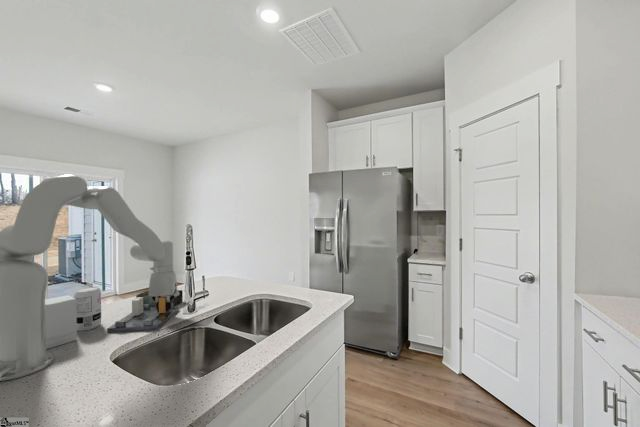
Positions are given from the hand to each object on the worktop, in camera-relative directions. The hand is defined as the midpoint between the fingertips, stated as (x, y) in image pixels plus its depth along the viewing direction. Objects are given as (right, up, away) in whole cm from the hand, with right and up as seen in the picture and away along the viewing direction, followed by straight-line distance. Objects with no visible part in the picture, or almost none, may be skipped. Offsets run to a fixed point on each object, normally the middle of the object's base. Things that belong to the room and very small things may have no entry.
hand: (164, 310), depth 120 cm
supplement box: (-24, -3, -23) cm, 34 cm away
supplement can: (-24, -3, -11) cm, 27 cm away
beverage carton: (-11, -3, +15) cm, 19 cm away
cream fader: (-10, -1, -3) cm, 10 cm away
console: (-4, -2, -5) cm, 7 cm away
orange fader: (0, 0, 0) cm, 0 cm away
